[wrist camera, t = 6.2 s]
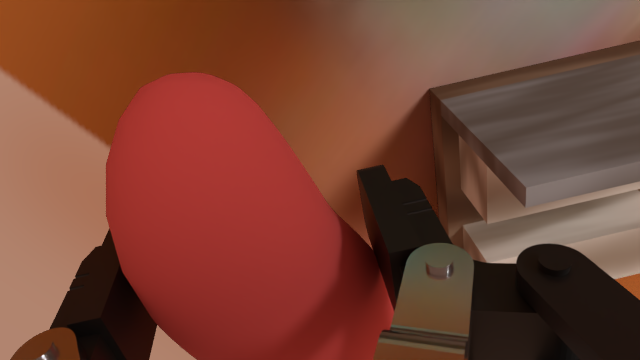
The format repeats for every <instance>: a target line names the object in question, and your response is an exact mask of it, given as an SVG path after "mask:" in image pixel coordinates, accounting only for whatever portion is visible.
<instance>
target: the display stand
mask: <svg viewBox="0 0 640 360" xmlns="http://www.w3.org/2000/svg"><path fill="white" fill-rule="evenodd" d="M429 91H430V105H431V118H432V132H433V145H434V158H435V172H436V185H437V199H438V212H439V221H440V223H441V224H442V226H443V228H444V229H445V231H446V233H447V235H448V236H449V238H450V240H451V242H452V243H453V245H455V246H458V247H460V248H462V249H464V250H465V251H466V252H468V254H469V255H470V256H471V257H472V259H474V260H477V261H481V262H486V263H516V261H517V257H518V256H519V254H520V253H521V252H522V251H523V250H525V249H526V248H528V247H531V246H534V245H537V244H548V243H550V244H559V245H564V246H568V247H570V248H573V249H575V250H577V251H579V252H581V253H582V254H584V255H585V256H586V257H587V258H589V259H590V260H591V261H592V262H594V263H595V264H596V265H597V266H598V267H600V268H601V269H602V270H603V271H605V272H606V273H607V274H608V275H609V276H611V277H612V278H613V279H617V278H621V277H626V276H630V275H634V274H638V273H640V41H636V42H632V43H627V44H623V45H619V46H614V47H610V48H605V49H601V50H597V51H592V52H588V53H584V54H579V55H575V56H571V57H566V58H562V59H557V60H553V61H549V62H544V63H540V64H536V65H531V66H527V67H523V68H518V69H514V70H509V71H505V72H501V73H496V74H492V75H488V76H483V77H479V78H475V79H470V80H466V81H461V82H457V83H453V84H448V85H444V86H440V87H435V88H431V89H429Z"/></svg>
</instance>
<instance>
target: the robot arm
mask: <svg viewBox="0 0 640 360" xmlns="http://www.w3.org/2000/svg"><path fill="white" fill-rule="evenodd" d="M357 178H358V184H359V190H360V196H361V202H362V207H363V213H364V219H365V224H366V228H367V232H368V235H369V239H370V242H371V245H372V248H373V251H374V254H375V256H376V259H377V262H378V265H379V268H380V271H381V274H382V277H383V280H384V283H385V286H386V289H387V292H388V295H389V298H390V301H391V304H392V307H393V310H394V315H393V319H392V323H391V327H390V330H385V329H384V330H382V332H381V334H380V336H379V339H378V342H377V346H376V350H375V354H374V358H373V360H640V300H639V299H638V298H636V297H635V296H634V295H633V294H631V293H630V292H629V291H628V290H627V289H625V288H624V287H623V286H622V285H620V284H619V283H618V282H617V281H616V280H614V279H613V278H612V277H611V276H609V275H608V274H607V273H606V272H605V271H603V270H602V269H601V268H600V267H598V266H597V265H596V264H595V263H594V262H592V261H591V260H590V259H589V258H587V257H586V256H585V255H584V254H582V253H581V252H579V251H577V250H575V249H573V248H570V247H568V246H564V245H559V244H550V243H548V244H537V245H534V246H531V247H528V248H526V249H525V250H523V251H522V252H521V253H520V254H519V256H518V257H517V261H516V263H486V262H481V261H477V260H474V259H472V257H471V256H470V255H469V254H468V252H466V251H465V250H464V249H462V248H460V247H458V246H455V245H453V243H452V242H451V240H450V238H449V236H448V235H447V233H446V231H445V229H444V228H443V226H442V224H441V223H440V221H439V219H438V217H437V216H436V214H435V212H434V210H432V207H431V205H430V203H429V202H428V200H427V199H426V196H425V195H424V193H423V191H422V189H421V188H420V186H418V185H417V184H415V183H414V182H412V181H410V180H409V179H407V178H404V179H399V180H395V181H391V179H390V177H389V175H388V173H387V171H386V169H385V167H384V165H379V166H374V167H370V168H365V169H361V170H357ZM75 277H76V279H74V280H73V282H72V284H71V286H70V291H68V292H67V294H66V296H65V298H64V300H63V302H62V305H61V306H60V309H59V311H58V313H57V315H56V317H55V319H54V321H53V323H52V325H51V327H50V329H49V330H47V331H44V332H42V333H40V334H38V335H36V336H34V337H33V338H32V339H30V340H28V341H27V342H26V343H25V344H23V345H22V347H20V348H19V349H18V350H17V351H16V352H15V354H14V355H13V357H12V358H11V359H10V360H149V357H150V353H151V348H152V345H153V340H154V336H155V332H156V327H157V324H156V323H155V322H154V320H153V319H152V318H151V316H150V315H149V313H148V311H147V310H146V308H145V307H144V305H143V304H142V302H141V300H140V299H139V297H138V296H137V294H136V293H135V291H134V289H133V288H132V286H131V285H130V283H129V282H128V280H127V278H126V277H125V275H124V274H123V272H122V269H121V266H120V262H119V259H118V255H117V252H116V248H115V245H114V241H113V238H112V234H111V231H110V228H109V231H108V233H107V235H106V238H105V239H104V242H103V244H102V246H98V247H95V249H94V250H93V251H92V252H91V253H90V254H89V255H88V256H87V257H86V258H85V259H84V260H83V261H82V263H81V265H80V267H79V269H78V271H77V273H76V276H75Z"/></svg>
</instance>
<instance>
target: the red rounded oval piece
mask: <svg viewBox="0 0 640 360" xmlns="http://www.w3.org/2000/svg"><path fill="white" fill-rule="evenodd" d="M106 217H107V220H108V223H109V227H110V231H111V234H112V238H113V241H114V245H115V248H116V252H117V255H118V259H119V262H120V266H121V269H122V272H123V274H124V275H125V277H126V278H127V280H128V282H129V283H130V285H131V286H132V288H133V289H134V291H135V293H136V294H137V296H138V297H139V299H140V300H141V302H142V304H143V305H144V307H145V308H146V310H147V311H148V313H149V315H150V316H151V318H152V319H153V320H154V322H155V323H156V324H157V325H158V326H159V327H160V328H161V329H162V330H163V331H164V332H165V333H166V334H167V335H168V336H169V337H170V338H171V339H172V340H174V341H175V342H176V343H177V344H178V345H179V346H181V347H182V348H183V349H184V350H185V351H187V352H188V353H189V354H190V355H192V356H193V357H194V358H196V359H197V360H373V358H374V354H375V350H376V346H377V342H378V339H379V336H380V334H381V332H382V330H384V329H385V330H390V327H391V323H392V319H393V315H394V310H393V307H392V304H391V301H390V298H389V295H388V292H387V289H386V286H385V283H384V280H383V277H382V274H381V271H380V268H379V265H378V262H377V259H376V256H375V254H374V251H373V250H372V249H371V247H370V246H369V245H368V244H367V243H366V242H365V241H364V240H363V239H362V238H361V236H360V235H359V234H358V233H357V232H356V231H354V230H353V229H352V228H351V227H350V226H349V225H348V224H347V223H346V222H345V221H344V220H343V219H342V218H341V217H339V216H338V215H337V214H336V213H335V212H334V211H333V209H332V208H331V207H330V206H329V205H328V203H327V202H326V200H325V199H324V197H323V196H322V194H321V193H320V191H319V189H318V188H317V186H316V185H315V183H314V182H313V180H312V179H311V177H310V176H309V174H308V173H307V171H306V170H305V168H304V167H303V165H302V164H301V162H300V161H299V159H298V158H297V156H296V155H295V153H294V152H293V150H292V149H291V147H290V146H289V145H288V143H287V142H286V140H285V139H284V138H283V136H282V135H281V134H280V132H279V131H278V129H277V128H276V127H275V125H274V124H273V123H272V122H271V120H270V119H269V118H268V117H267V115H266V114H265V113H264V112H263V110H262V109H261V108H260V107H259V105H258V104H257V103H256V102H255V101H254V100H252V99H251V98H250V97H249V96H248V95H247V94H246V93H244V92H243V91H242V90H241V89H240V88H239V87H237V86H236V85H234V84H232V83H230V82H227V81H225V80H223V79H220V78H218V77H216V76H213V75H209V74H205V73H196V72H190V73H176V74H168V75H165V76H163V77H161V78H159V79H157V80H155V81H153V82H150V83H148V84H146V85H144V86H142V87H141V88H140V89H139V90H138V92H137V93H136V95H135V96H134V98H133V99H132V101H131V102H130V104H129V105H128V107H127V108H126V110H125V111H124V113H123V114H122V116H121V117H120V119H119V121H118V125H117V128H116V132H115V135H114V139H113V142H112V145H111V149H110V152H109V156H108V159H107V163H106Z"/></svg>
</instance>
